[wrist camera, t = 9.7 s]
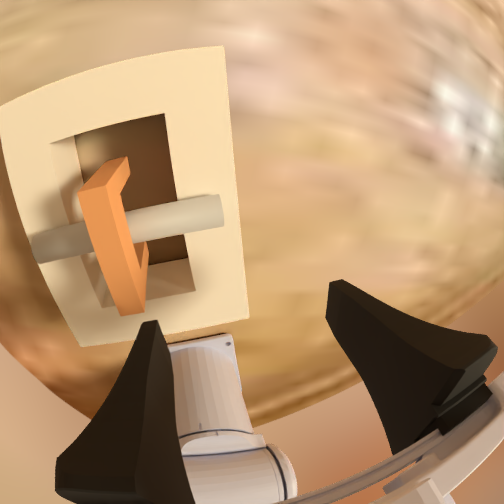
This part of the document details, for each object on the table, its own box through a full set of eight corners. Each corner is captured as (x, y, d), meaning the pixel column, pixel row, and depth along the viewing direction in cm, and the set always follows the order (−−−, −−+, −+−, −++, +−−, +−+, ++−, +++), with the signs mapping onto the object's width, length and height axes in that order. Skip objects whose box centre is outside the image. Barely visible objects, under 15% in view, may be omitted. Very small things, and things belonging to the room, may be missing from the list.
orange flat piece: (148, 252, 17) (144, 312, 12) (130, 256, 17) (120, 316, 12) (127, 156, 14) (105, 185, 9) (106, 161, 14) (76, 192, 9)
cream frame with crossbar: (236, 283, 22) (255, 334, 18) (89, 310, 20) (77, 364, 15) (212, 58, 14) (230, 38, 9) (28, 104, 12) (-20, 111, 7)
